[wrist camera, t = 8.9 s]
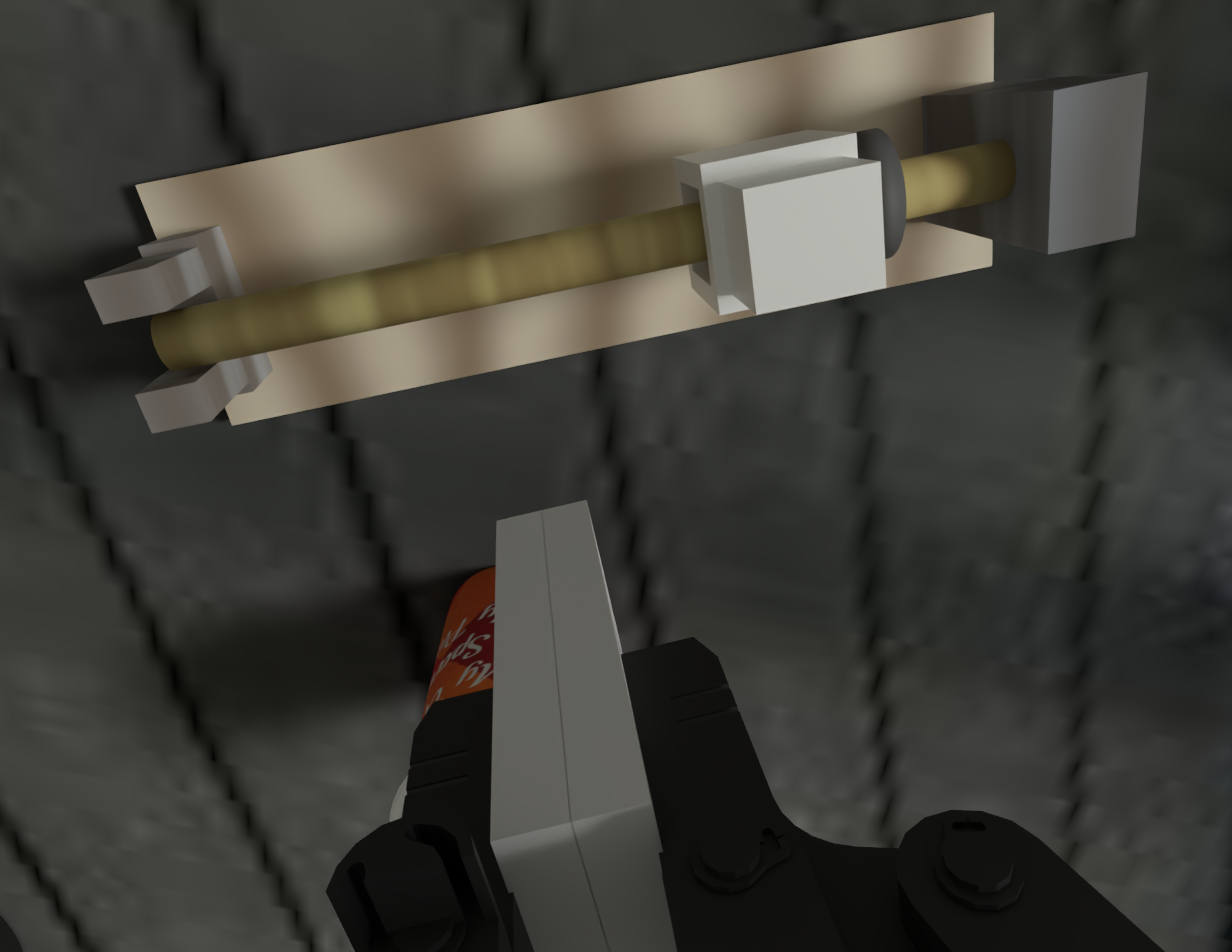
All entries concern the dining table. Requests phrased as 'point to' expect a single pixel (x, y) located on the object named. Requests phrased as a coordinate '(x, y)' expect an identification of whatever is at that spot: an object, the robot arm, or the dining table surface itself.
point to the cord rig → (590, 219)
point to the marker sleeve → (785, 221)
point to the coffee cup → (462, 651)
